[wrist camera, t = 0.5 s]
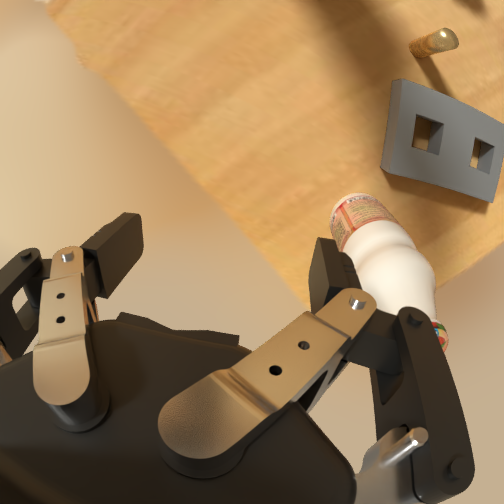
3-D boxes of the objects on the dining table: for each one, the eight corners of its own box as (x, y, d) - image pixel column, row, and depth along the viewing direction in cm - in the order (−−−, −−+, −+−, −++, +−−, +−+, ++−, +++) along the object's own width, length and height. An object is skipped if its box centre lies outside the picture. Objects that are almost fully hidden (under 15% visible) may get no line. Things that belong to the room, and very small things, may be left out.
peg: (409, 38, 27) (439, 24, 18) (425, 44, 27) (458, 33, 18) (408, 54, 29) (439, 43, 20) (425, 60, 28) (458, 52, 20)
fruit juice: (362, 178, 39) (456, 284, 15) (393, 221, 42) (479, 345, 18) (316, 216, 43) (348, 357, 19) (351, 255, 46) (396, 398, 21)
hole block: (380, 167, 38) (388, 173, 35) (392, 80, 31) (402, 78, 28) (480, 195, 37) (492, 203, 33) (494, 123, 30) (508, 126, 27)
